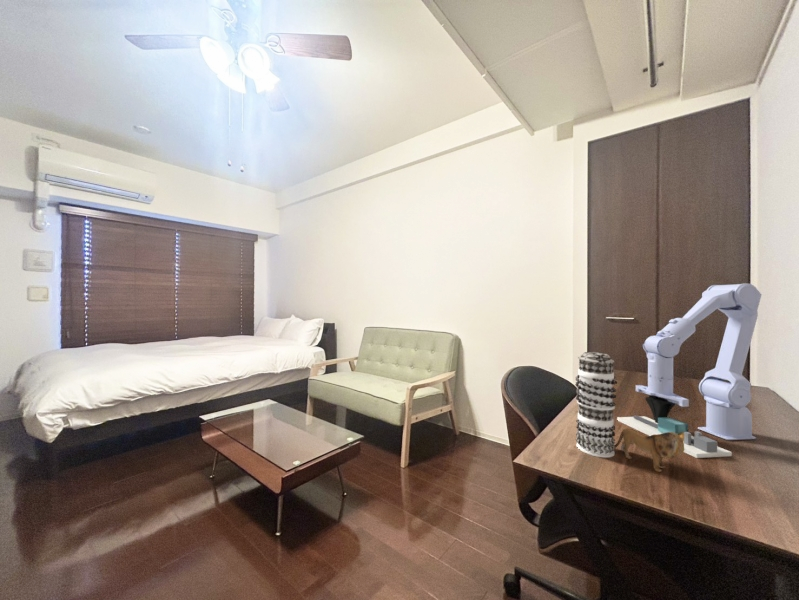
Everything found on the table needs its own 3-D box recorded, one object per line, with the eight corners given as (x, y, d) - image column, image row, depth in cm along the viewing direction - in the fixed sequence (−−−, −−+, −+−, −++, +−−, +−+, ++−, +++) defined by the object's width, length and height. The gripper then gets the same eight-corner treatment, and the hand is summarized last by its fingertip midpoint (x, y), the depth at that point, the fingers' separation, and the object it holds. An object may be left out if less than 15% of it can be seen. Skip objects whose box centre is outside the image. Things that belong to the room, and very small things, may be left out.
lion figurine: (688, 473, 69) (688, 433, 69) (679, 480, 66) (679, 438, 66) (615, 446, 82) (615, 412, 82) (605, 451, 79) (605, 416, 79)
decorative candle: (621, 450, 79) (622, 354, 79) (609, 462, 73) (610, 358, 73) (582, 438, 86) (583, 349, 86) (569, 448, 80) (570, 352, 80)
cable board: (644, 419, 101) (644, 407, 101) (731, 456, 77) (731, 440, 77) (617, 420, 100) (617, 408, 100) (696, 458, 76) (696, 441, 76)
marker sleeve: (670, 429, 90) (670, 417, 90) (688, 437, 85) (688, 424, 85) (657, 430, 89) (657, 417, 89) (675, 438, 84) (675, 424, 84)
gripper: (627, 371, 97) (626, 414, 97) (672, 383, 83) (672, 434, 83) (647, 371, 98) (646, 413, 98) (695, 383, 84) (695, 433, 84)
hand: (659, 422), depth 91 cm, fingers closed
